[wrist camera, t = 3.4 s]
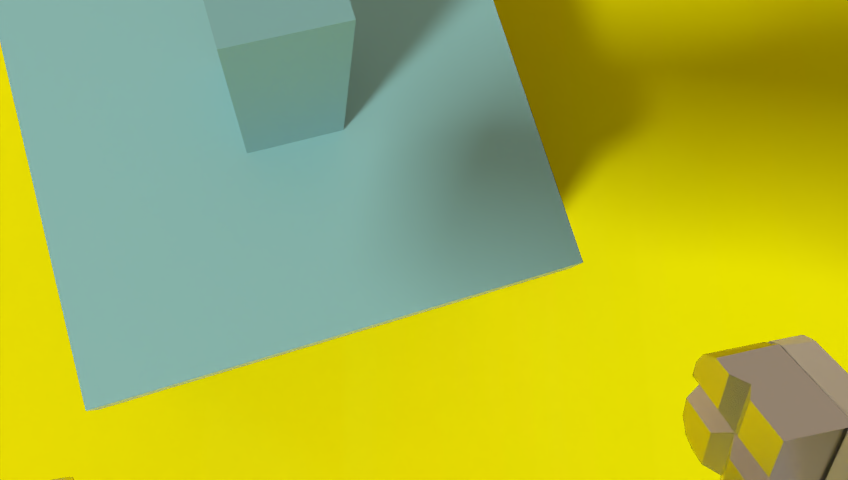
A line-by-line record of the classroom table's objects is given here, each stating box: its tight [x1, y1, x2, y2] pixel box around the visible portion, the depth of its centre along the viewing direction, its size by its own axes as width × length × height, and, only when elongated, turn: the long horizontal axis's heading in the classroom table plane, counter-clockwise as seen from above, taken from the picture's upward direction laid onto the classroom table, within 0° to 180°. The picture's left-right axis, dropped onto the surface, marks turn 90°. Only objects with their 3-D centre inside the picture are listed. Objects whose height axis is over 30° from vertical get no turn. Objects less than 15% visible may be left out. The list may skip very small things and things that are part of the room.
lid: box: [0, 0, 583, 411], centre depth 20 cm, size 15×15×9 cm
